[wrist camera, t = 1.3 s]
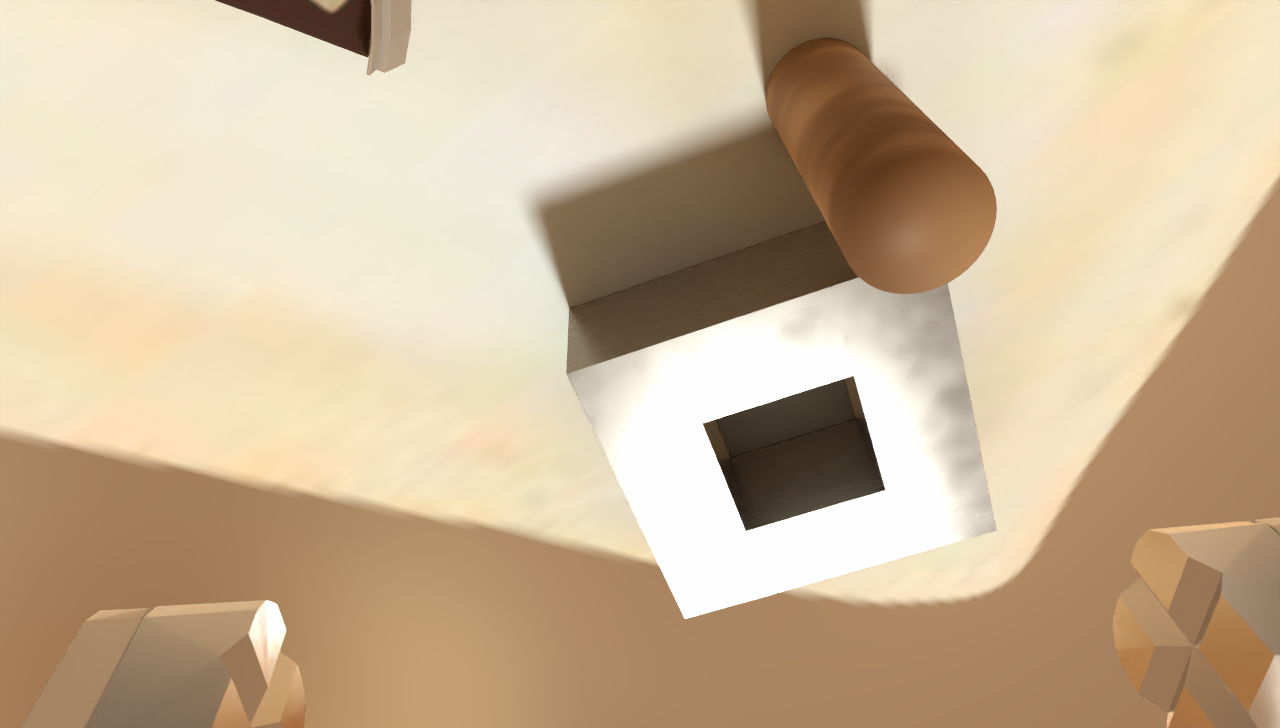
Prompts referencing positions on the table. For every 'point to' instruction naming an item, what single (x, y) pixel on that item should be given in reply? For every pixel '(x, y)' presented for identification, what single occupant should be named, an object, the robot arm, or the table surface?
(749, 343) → the socket block
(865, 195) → the walnut peg
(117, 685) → the robot arm
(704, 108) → the table surface
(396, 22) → the food container
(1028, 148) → the table surface
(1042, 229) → the table surface
